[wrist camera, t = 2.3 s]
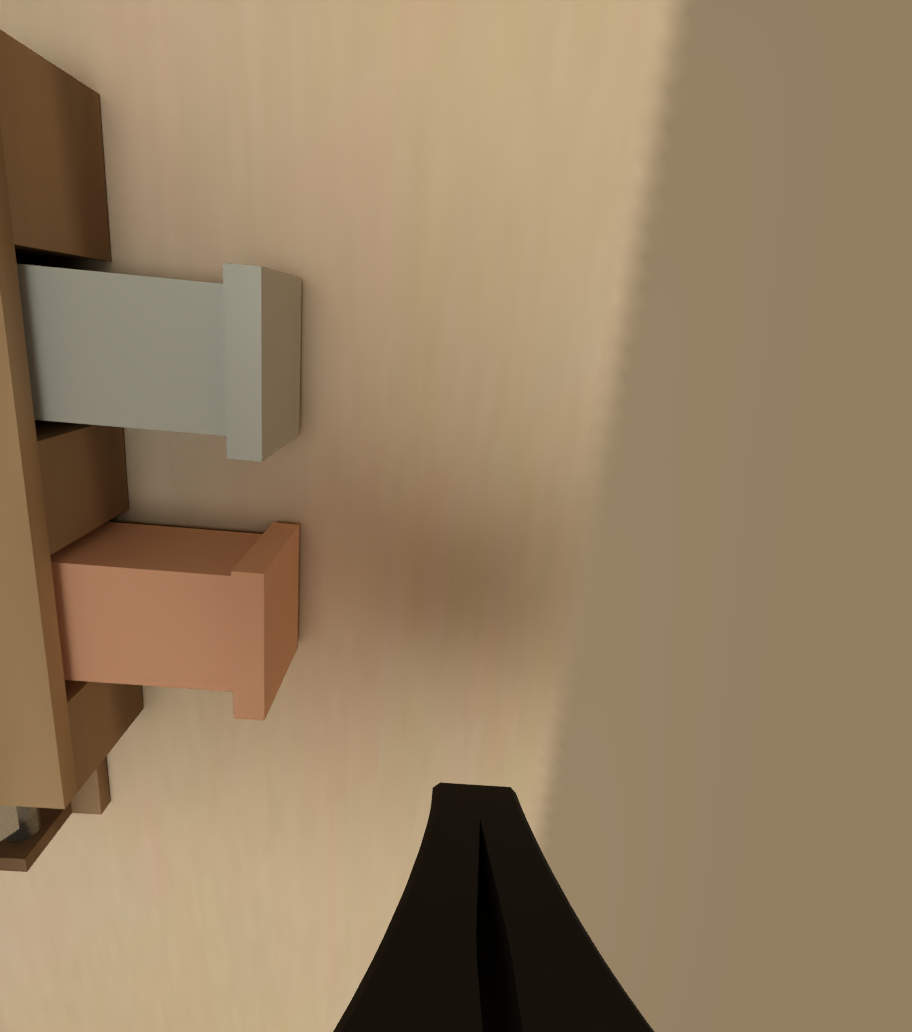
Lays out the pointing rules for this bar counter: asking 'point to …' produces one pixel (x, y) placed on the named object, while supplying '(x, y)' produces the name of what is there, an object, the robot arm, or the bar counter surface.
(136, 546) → the flanged terracotta block
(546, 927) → the robot arm
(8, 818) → the toggle lever
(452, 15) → the bar counter surface
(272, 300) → the plunger grey
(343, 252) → the bar counter surface
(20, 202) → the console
